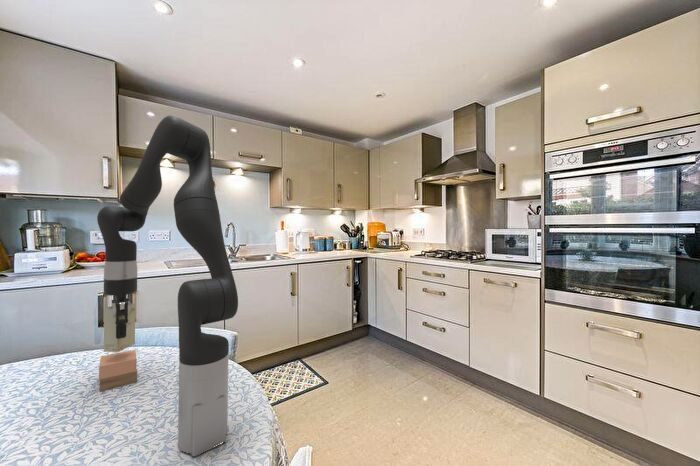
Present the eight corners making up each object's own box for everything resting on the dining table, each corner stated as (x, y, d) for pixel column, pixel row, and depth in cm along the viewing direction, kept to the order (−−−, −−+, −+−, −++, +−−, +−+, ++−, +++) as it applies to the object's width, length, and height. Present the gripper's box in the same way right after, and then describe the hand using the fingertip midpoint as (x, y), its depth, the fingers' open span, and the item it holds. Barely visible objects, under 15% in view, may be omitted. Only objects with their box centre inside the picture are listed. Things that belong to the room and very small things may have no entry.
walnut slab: (136, 383, 81) (137, 370, 81) (99, 393, 76) (99, 380, 76) (134, 372, 88) (134, 361, 88) (99, 381, 82) (99, 368, 82)
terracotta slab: (136, 371, 81) (136, 358, 81) (98, 379, 76) (99, 366, 76) (135, 360, 88) (135, 349, 88) (100, 368, 83) (100, 356, 83)
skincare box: (118, 352, 79) (118, 308, 79) (102, 352, 79) (102, 308, 79) (135, 343, 85) (136, 303, 85) (121, 343, 85) (121, 302, 85)
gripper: (140, 278, 79) (139, 338, 79) (134, 272, 90) (134, 325, 90) (104, 281, 74) (103, 345, 74) (103, 274, 85) (102, 330, 85)
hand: (120, 333), depth 82 cm, fingers closed on skincare box, 7 cm apart
